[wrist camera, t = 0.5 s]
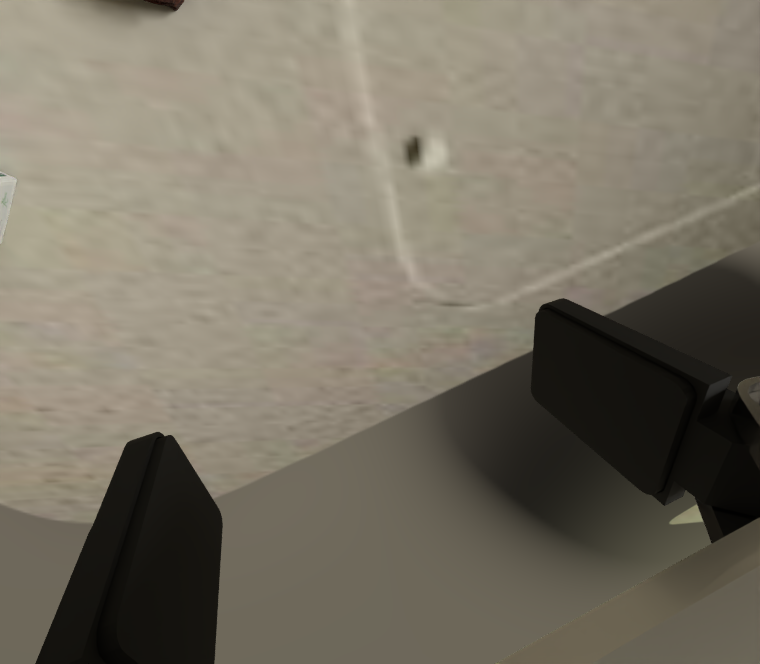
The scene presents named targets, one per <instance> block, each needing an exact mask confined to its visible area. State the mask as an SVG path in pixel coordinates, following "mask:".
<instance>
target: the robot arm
mask: <svg viewBox="0 0 760 664" xmlns="http://www.w3.org/2000/svg"><path fill="white" fill-rule="evenodd" d="M731 377H732V375H730V374H728V373H726V372H724V371H721V370H719V369H717V368H715V367H713V366H711V365H708V364H706V363H704V362H702V361H700V360H698V359H695V358H693V357H691V356H689V355H687V354H685V353H682V352H680V351H678V350H676V349H674V348H672V347H669V346H667V345H665V344H663V343H660V342H658V341H656V340H654V339H652V338H650V337H648V336H645V335H643V334H641V333H639V332H637V331H635V330H632V329H630V328H628V327H626V326H624V325H622V324H619V323H617V322H615V321H613V320H610V319H609V318H606V317H604V316H602V315H600V314H598V313H596V312H593V311H591V310H589V309H587V308H585V307H582V306H580V305H578V304H576V303H574V302H572V301H569V300H567V299H564V298H563V299H558V300H555V301H552V302H549V303H546V304H543V305H542V306H541V307H540V309H539V312H538V313H537V314H536V317H535V330H534V347H533V364H532V381H531V392H532V395H533V397H534V399H535V400H536V401H537V402H538V403H539V404H540V405H542V406H543V407H544V408H545V409H546V410H547V411H549V412H550V413H551V414H552V415H553V416H554V417H555V418H557V419H558V420H559V421H560V422H561V423H562V424H564V425H565V426H566V427H567V428H568V429H569V430H571V431H572V432H573V433H574V434H575V435H576V436H578V437H579V438H580V439H581V440H582V441H583V442H585V443H586V444H587V445H588V446H589V447H590V448H592V449H593V450H594V451H595V452H596V453H597V454H598V455H600V456H601V457H602V458H603V459H604V460H605V461H607V462H608V463H609V464H610V465H611V466H612V467H614V468H615V469H616V470H617V471H618V472H620V473H621V474H622V475H623V476H624V477H625V478H627V479H628V480H629V481H630V482H631V483H632V484H634V485H635V486H636V487H637V488H638V489H639V490H641V491H642V492H644V493H646V494H649V495H652V496H654V497H655V498H656V499H657V500H658V501H659V502H661V503H662V504H663V505H664V506H665V505H667V504H669V503H671V502H673V501H675V500H677V499H679V498H681V497H683V495H684V492H685V490H687V491H688V492H689V493H691V494H692V495H693V496H694V497H695V500H696V503H697V506H698V508H699V511H700V514H701V517H702V519H703V522H704V525H705V527H706V530H707V532H708V535H709V538H710V541H711V543H712V544H710V545H709V546H707V547H705V548H703V549H701V550H700V551H698V552H696V553H694V554H692V555H690V556H688V557H687V558H685V559H683V560H681V561H679V562H678V563H676V564H674V565H672V566H670V567H668V568H667V569H665V570H663V571H661V572H659V573H657V574H656V575H654V576H652V577H650V578H648V579H647V580H645V581H643V582H641V583H639V584H637V585H636V586H634V587H632V588H630V589H628V590H627V591H625V592H623V593H621V594H619V595H618V596H616V597H614V598H612V599H610V600H609V601H607V602H605V603H603V604H601V605H600V606H598V607H596V608H594V609H593V610H591V611H589V612H587V613H585V614H583V615H582V616H580V617H578V618H576V619H574V620H573V621H571V622H569V623H567V624H566V625H564V626H562V627H560V628H558V629H556V630H555V631H553V632H551V633H549V634H548V635H546V636H544V637H542V638H540V639H538V640H537V641H535V642H533V643H531V644H530V645H528V646H526V647H524V648H522V649H520V650H519V651H517V652H515V653H514V654H511V655H510V656H508V657H506V658H504V659H502V660H501V661H499V662H497V663H495V664H760V377H754V378H748V379H746V380H744V381H742V382H740V383H739V386H738V388H737V391H736V393H734V392H732V391H730V390H728V389H727V387H728V384H729V382H730V380H731ZM222 527H223V526H222V516H221V513H220V511H219V508H218V507H217V505H216V504H215V502H214V500H213V499H212V497H211V496H210V494H209V492H208V491H207V489H206V488H205V486H204V484H203V483H202V481H201V480H200V478H199V476H198V475H197V473H196V472H195V470H194V468H193V467H192V465H191V464H190V462H189V460H188V459H187V457H186V456H185V454H184V452H183V451H182V449H181V448H180V446H179V444H178V443H177V441H176V440H175V438H174V437H173V436H172V435H168V436H164V435H163V434H162V433H160V432H155V433H152V434H149V435H146V436H143V437H140V438H137V439H134V440H131V441H129V442H128V443H127V444H126V446H125V448H124V450H123V453H122V455H121V457H120V460H119V462H118V465H117V467H116V470H115V472H114V475H113V477H112V480H111V482H110V485H109V487H108V489H107V492H106V494H105V497H104V499H103V502H102V504H101V507H100V509H99V512H98V514H97V517H96V519H95V521H94V524H93V526H92V528H91V530H90V532H89V534H88V536H87V539H86V541H85V544H84V546H83V549H82V552H81V553H80V556H79V558H78V561H77V563H76V566H75V568H74V571H73V573H72V575H71V578H70V580H69V583H68V585H67V588H66V590H65V593H64V595H63V597H62V600H61V602H60V605H59V607H58V610H57V612H56V615H55V617H54V620H53V622H52V624H51V627H50V629H49V632H48V634H47V637H46V639H45V642H44V644H43V646H42V649H41V651H40V654H39V656H38V659H37V661H36V663H35V664H214V660H215V643H216V627H217V609H218V593H219V577H220V560H221V543H222Z"/></svg>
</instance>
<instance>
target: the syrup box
mask: <svg viewBox="0 0 760 664" xmlns="http://www.w3.org/2000/svg"><path fill="white" fill-rule="evenodd" d="M16 182H17V179H16V178H15V177H12V176H10V175H7V174H5V173H3V172H1V171H0V243H2V240H3V236H4V232H5V228H6V224H7V221H8V216H9V212H10V208H11V204H12V200H13V195H14V191H15V187H16Z"/></svg>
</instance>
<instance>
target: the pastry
mask: <svg viewBox="0 0 760 664" xmlns="http://www.w3.org/2000/svg"><path fill="white" fill-rule="evenodd" d="M144 1H147V2H150V3H154V4H159V5H166V6H169V7H171V8H172V9H174V10H175V11H176V10H178V9H179V7H180V6H181V5H182V3H183V2H184V0H144Z"/></svg>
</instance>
